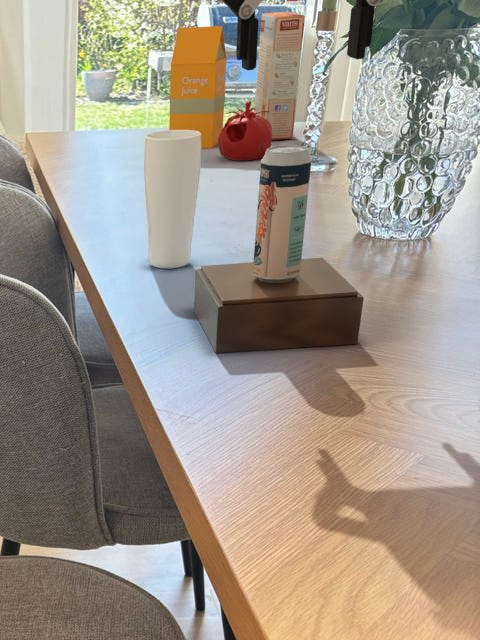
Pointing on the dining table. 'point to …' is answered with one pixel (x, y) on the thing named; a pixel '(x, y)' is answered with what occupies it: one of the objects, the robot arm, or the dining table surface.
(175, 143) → the drinking glass
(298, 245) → the beer can
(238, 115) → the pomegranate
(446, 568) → the dining table surface
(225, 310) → the walnut block
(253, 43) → the robot arm
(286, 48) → the cracker box
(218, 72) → the orange juice
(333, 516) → the dining table surface
